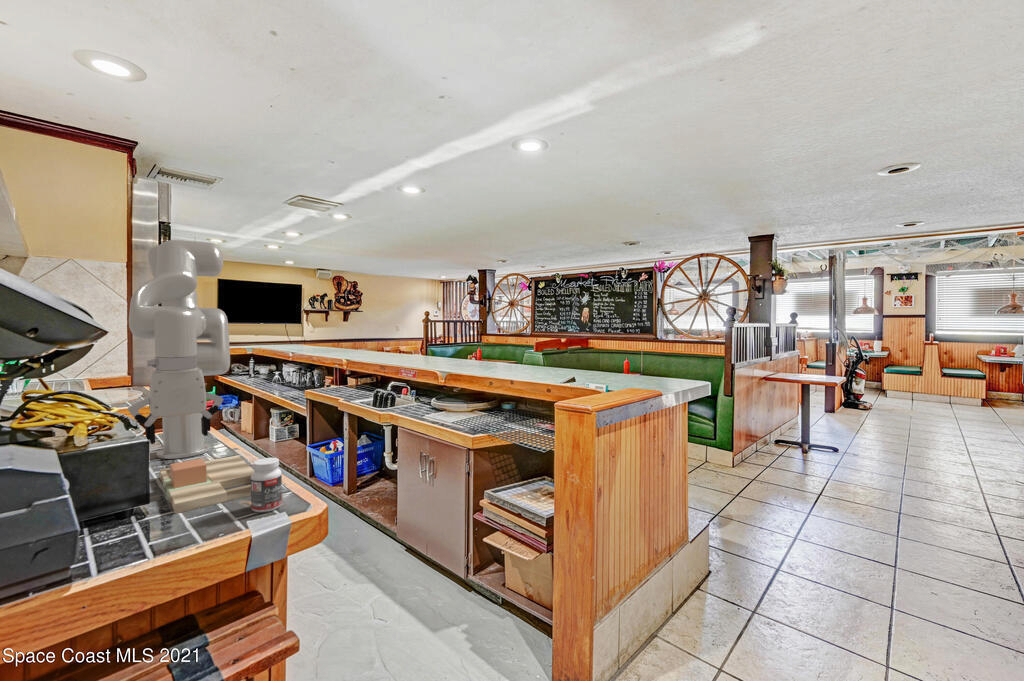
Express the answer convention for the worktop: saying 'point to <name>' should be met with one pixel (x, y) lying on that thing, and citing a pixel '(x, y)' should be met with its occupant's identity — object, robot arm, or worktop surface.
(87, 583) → the worktop surface
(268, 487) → the pill bottle
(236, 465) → the board
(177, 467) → the block
